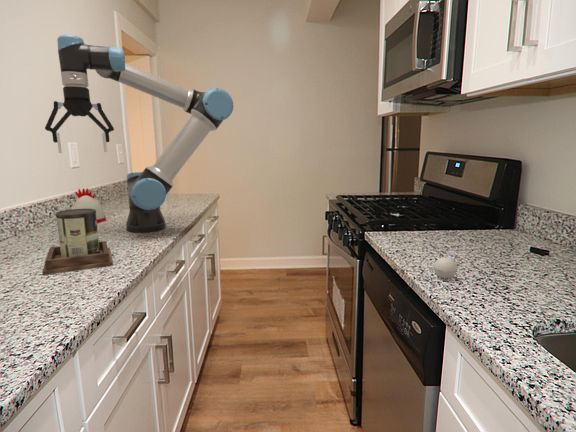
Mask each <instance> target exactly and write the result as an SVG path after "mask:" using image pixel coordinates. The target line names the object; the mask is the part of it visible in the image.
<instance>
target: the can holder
mask: <svg viewBox="0 0 576 432" xmlns="http://www.w3.org/2000/svg"><path fill="white" fill-rule="evenodd" d="M99 249H100V253H98V254H90V255H82V256H74V257H66V258H61V250H60V245H57V246H50V247H49V249H48V251H47V254H46V258H45V259H44V260H45V261H44V266H43V267H42V276H45V275H46V276H47V275H53V274H60V273H67V272H73V271H74V272H75V271H80V270H81V271H82V270H88V269H94V268H95V269H97V268H103V267H109V266H110V267H111V266H114V262H113V257H112V251H111V248H110V246H109V247H108V242H107V240H102V241H99Z"/></svg>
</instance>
